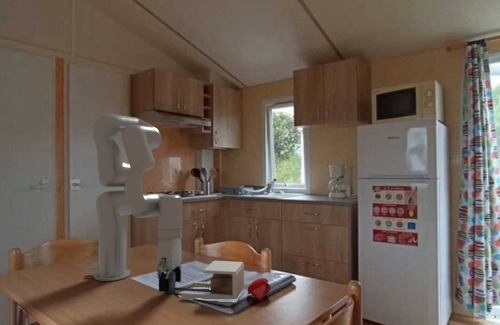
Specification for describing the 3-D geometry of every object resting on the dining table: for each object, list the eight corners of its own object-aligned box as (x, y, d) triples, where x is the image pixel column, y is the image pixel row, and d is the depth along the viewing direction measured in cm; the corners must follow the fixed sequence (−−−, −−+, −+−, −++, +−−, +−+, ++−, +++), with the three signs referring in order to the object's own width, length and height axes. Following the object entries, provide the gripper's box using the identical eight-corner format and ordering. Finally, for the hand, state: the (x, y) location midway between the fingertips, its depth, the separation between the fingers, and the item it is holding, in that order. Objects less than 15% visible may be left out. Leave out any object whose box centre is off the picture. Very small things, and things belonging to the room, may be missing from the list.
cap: (275, 284, 111) (260, 273, 113) (272, 284, 105) (256, 271, 107) (260, 306, 109) (245, 294, 112) (256, 307, 104) (241, 294, 106)
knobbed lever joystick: (161, 294, 111) (161, 275, 111) (169, 288, 117) (169, 270, 117) (232, 299, 107) (232, 279, 107) (237, 292, 113) (237, 273, 113)
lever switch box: (181, 299, 107) (181, 268, 107) (193, 287, 118) (193, 259, 118) (236, 303, 104) (236, 271, 104) (244, 290, 115) (243, 262, 115)
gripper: (170, 228, 123) (170, 277, 123) (147, 238, 106) (146, 295, 106) (190, 229, 122) (190, 278, 121) (170, 238, 105) (170, 296, 104)
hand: (170, 286), depth 114 cm, fingers open, 9 cm apart
